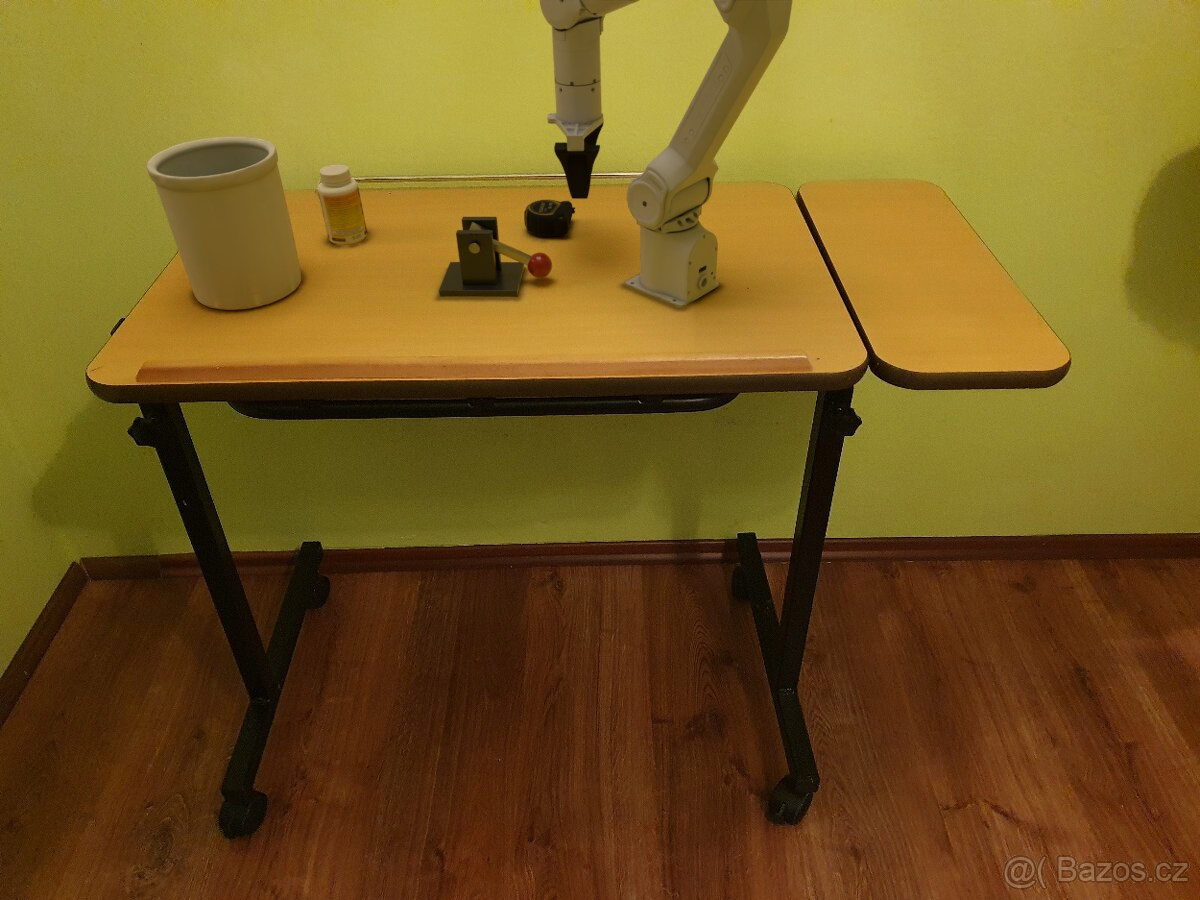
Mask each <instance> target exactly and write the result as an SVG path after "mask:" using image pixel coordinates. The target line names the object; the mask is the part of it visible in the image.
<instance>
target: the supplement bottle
mask: <svg viewBox="0 0 1200 900" xmlns="http://www.w3.org/2000/svg"><path fill="white" fill-rule="evenodd" d="M319 176H320V180H321V182H320V183H318V185H317V194H318V199H319V204H320V207H321V212H322V217H323V221H324V225H325V229H326V234H327V238H328V240H329V241H330V242H331V243H332V244H335V245H342V246H345V245H353V244H356V243H359V242H362V241H363V240H365V239H366V238H367V236H368V229H367V224H366V219H365V213H364V209H363V208H364V207H363V203H362V200H361V194H360V188H359V184H358V181H357V180H355V179H354V178H352V177H351V173H350V168H349V166H348V165H345V164H341V163H339V164H337V163H335V164H331V165H330V164H329V165H326V166H324V167H321V168H320V169H319Z"/></svg>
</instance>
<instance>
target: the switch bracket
mask: <svg viewBox="0 0 1200 900" xmlns="http://www.w3.org/2000/svg"><path fill="white" fill-rule="evenodd" d="M472 222H474V223H476V224H478V225H480V226H483V227H485V228H487V229H489V230H469V229H470V226H471V224H472ZM461 228H462V229H457V230H456V232H455V236H456V237H455V238H456V245H457V251H458V253H457V254H458V259H459V261H450V262H449V263H448V267H447V268H446V272H445V274H444V277H443V279H442V282H441V283H440V287H439V289H438V294H439V297H482V298H483V297H496V298H497V297H499V298H500V297H502V298H503V297H504V298H505V297H506V298H508V297H509V298H512V297H513V298H517V297H518V295H519V291H520V288H521V284H522V280H523V277H524V272H525V264H523V263H521V262H518V261H502V257H501V255H502V254H500V253H498V252H496V251H494V244H493V239H495V240H497V241H499V242H500V236H499V226H498V217H497V216H462V218H461ZM492 231H493V232H492Z"/></svg>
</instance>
